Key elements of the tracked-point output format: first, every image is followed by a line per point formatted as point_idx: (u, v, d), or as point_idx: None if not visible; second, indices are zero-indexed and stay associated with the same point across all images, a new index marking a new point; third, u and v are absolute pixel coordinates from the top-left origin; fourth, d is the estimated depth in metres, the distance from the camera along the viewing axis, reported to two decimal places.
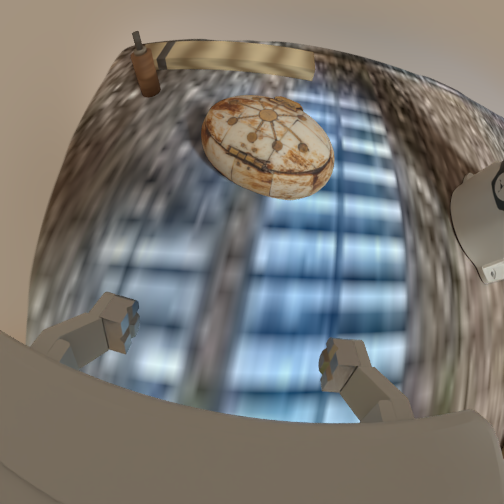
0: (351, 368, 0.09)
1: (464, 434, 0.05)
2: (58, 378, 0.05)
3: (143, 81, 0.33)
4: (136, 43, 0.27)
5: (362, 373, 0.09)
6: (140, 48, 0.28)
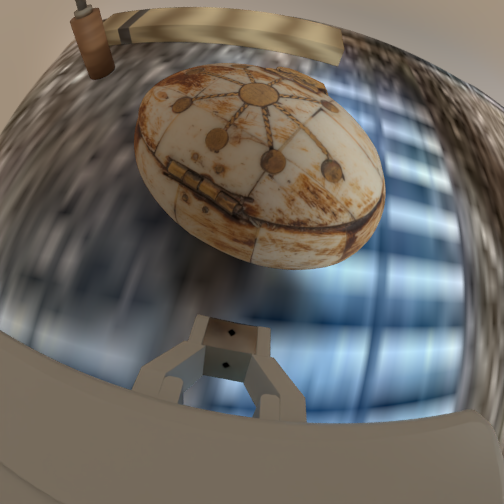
0: (246, 356, 0.09)
1: (464, 434, 0.05)
2: (58, 378, 0.05)
3: (86, 56, 0.18)
4: (76, 0, 0.12)
5: (255, 362, 0.09)
6: (82, 7, 0.13)
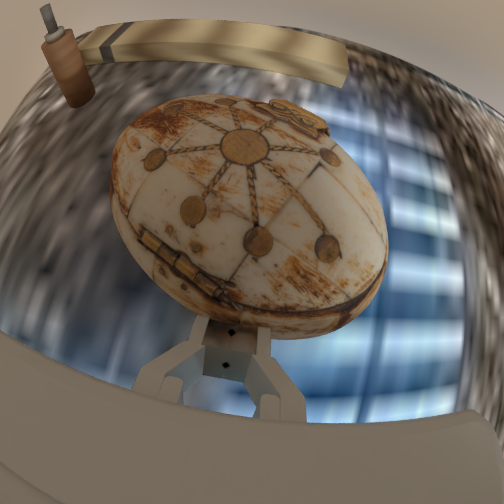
0: (246, 356, 0.09)
1: (464, 434, 0.05)
2: (58, 378, 0.05)
3: (62, 83, 0.17)
4: (45, 23, 0.11)
5: (256, 362, 0.09)
6: (53, 30, 0.12)
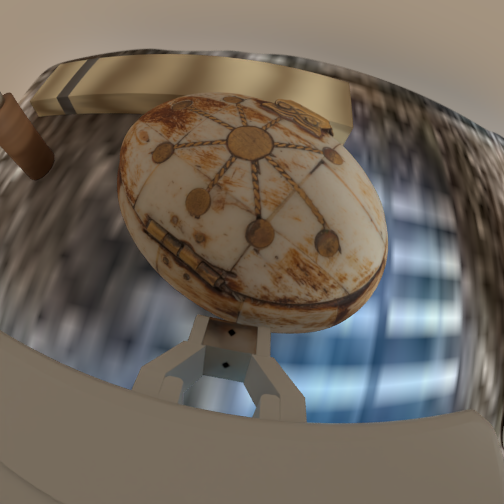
0: (246, 356, 0.09)
1: (464, 434, 0.05)
2: (58, 378, 0.05)
3: (13, 158, 0.14)
4: None
5: (256, 362, 0.09)
6: None
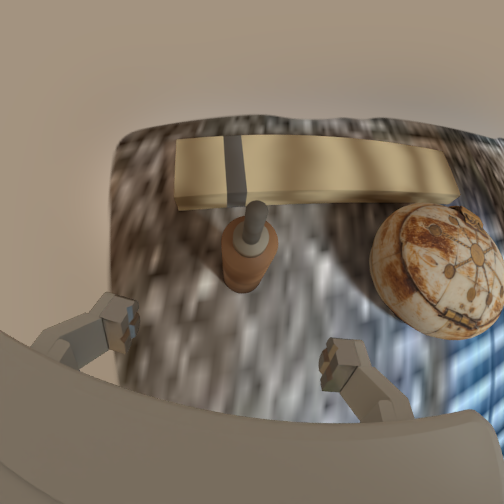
0: (351, 368, 0.09)
1: (464, 434, 0.05)
2: (58, 378, 0.05)
3: (246, 285, 0.19)
4: (252, 235, 0.13)
5: (362, 373, 0.09)
6: (258, 239, 0.14)
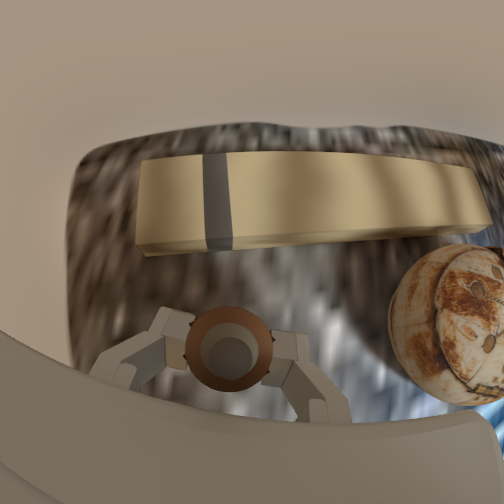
0: (287, 362, 0.09)
1: (464, 434, 0.05)
2: (58, 378, 0.05)
3: None
4: None
5: (298, 368, 0.09)
6: None
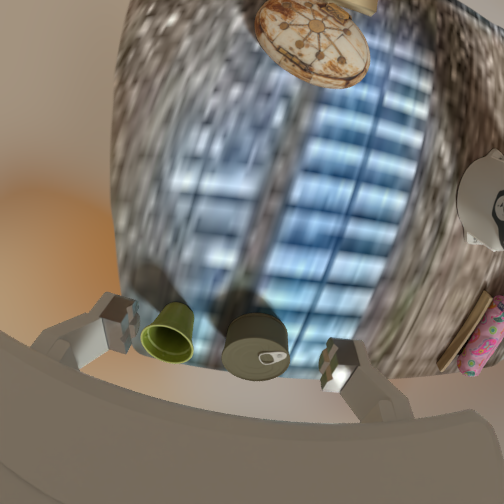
0: (351, 368, 0.09)
1: (464, 434, 0.05)
2: (58, 378, 0.05)
3: None
4: None
5: (362, 373, 0.09)
6: None
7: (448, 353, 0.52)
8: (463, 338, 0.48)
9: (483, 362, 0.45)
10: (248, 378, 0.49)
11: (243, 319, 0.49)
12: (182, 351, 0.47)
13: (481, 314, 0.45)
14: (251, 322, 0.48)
